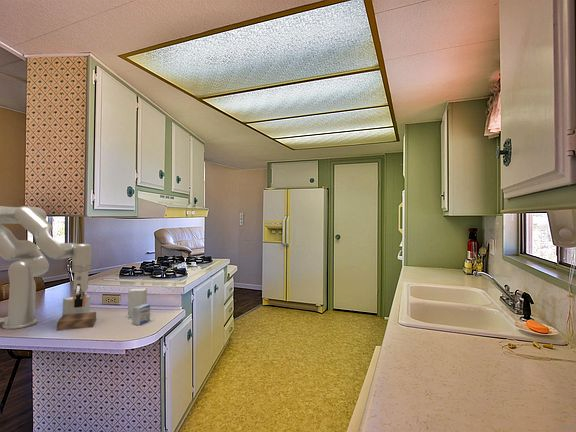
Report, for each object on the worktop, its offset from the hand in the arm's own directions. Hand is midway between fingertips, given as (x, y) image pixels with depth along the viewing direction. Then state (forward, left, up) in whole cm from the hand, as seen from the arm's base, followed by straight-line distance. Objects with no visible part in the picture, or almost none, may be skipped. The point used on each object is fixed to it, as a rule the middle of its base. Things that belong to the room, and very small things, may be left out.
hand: (79, 305), depth 144 cm
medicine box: (+28, -7, -10) cm, 30 cm away
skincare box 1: (-3, +15, -10) cm, 18 cm away
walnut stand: (0, 0, -10) cm, 10 cm away
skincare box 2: (+26, +5, -10) cm, 28 cm away
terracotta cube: (0, 0, -1) cm, 1 cm away
